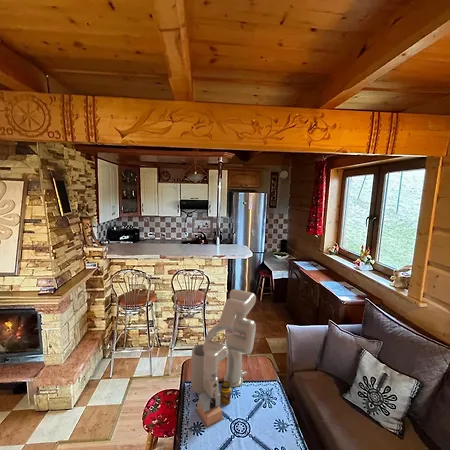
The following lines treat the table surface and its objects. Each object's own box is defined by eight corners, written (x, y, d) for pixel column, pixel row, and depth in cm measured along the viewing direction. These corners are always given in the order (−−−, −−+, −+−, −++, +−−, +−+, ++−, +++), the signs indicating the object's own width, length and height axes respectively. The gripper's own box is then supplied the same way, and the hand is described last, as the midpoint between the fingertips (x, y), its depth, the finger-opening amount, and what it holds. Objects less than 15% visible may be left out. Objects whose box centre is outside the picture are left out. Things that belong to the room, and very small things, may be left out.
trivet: (211, 402, 156) (211, 401, 156) (224, 420, 144) (224, 419, 144) (194, 410, 150) (194, 409, 150) (206, 429, 138) (206, 428, 138)
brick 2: (197, 409, 149) (197, 401, 149) (211, 403, 154) (211, 395, 154) (207, 426, 139) (207, 417, 139) (222, 418, 144) (222, 410, 144)
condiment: (229, 408, 152) (229, 389, 150) (215, 404, 154) (215, 385, 153) (232, 399, 159) (233, 380, 157) (219, 395, 161) (219, 377, 160)
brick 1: (214, 397, 151) (214, 387, 150) (220, 404, 146) (220, 394, 146) (198, 404, 146) (199, 394, 145) (204, 412, 141) (204, 402, 140)
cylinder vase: (187, 391, 164) (188, 353, 161) (197, 377, 176) (197, 342, 172) (206, 397, 160) (207, 358, 156) (214, 383, 171) (215, 347, 168)
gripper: (225, 380, 138) (223, 411, 141) (208, 362, 153) (208, 390, 155) (212, 385, 134) (211, 417, 137) (197, 366, 149) (196, 395, 151)
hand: (209, 403), depth 146 cm, fingers closed on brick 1, 5 cm apart
